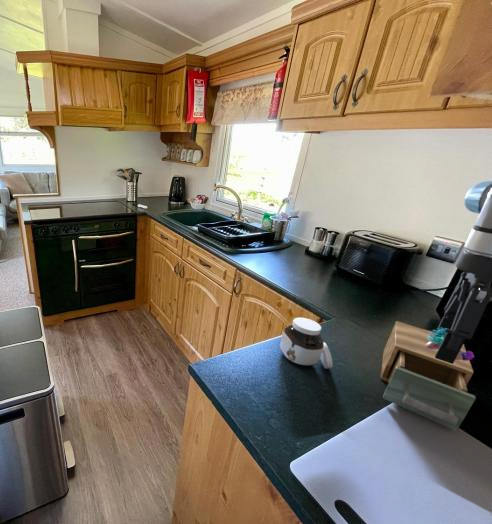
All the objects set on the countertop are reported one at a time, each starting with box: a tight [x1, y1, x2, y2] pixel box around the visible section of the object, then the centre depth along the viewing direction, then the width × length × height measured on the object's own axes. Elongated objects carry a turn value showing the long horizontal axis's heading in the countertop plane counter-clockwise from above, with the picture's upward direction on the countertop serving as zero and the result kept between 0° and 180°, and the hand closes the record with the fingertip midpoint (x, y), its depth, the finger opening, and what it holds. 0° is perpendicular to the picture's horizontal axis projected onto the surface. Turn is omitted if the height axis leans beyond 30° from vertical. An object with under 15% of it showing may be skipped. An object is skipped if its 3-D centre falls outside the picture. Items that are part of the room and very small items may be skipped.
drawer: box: [382, 350, 476, 432], centre depth 67 cm, size 22×13×9 cm, turn 139°
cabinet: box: [380, 320, 474, 386], centre depth 77 cm, size 17×14×11 cm
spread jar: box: [279, 317, 334, 370], centre depth 80 cm, size 12×11×12 cm
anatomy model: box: [425, 327, 475, 361], centre depth 63 cm, size 5×8×7 cm
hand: (441, 351), depth 64 cm, fingers closed on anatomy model, 8 cm apart
